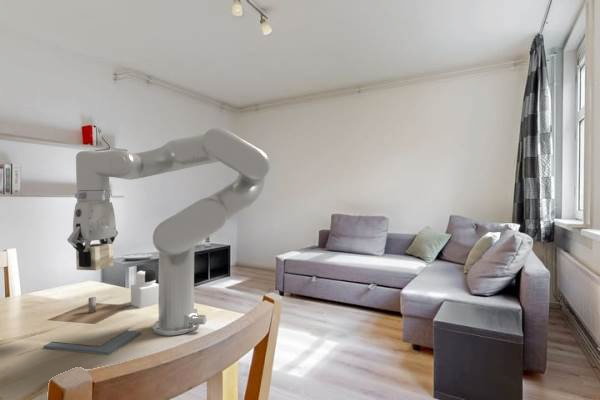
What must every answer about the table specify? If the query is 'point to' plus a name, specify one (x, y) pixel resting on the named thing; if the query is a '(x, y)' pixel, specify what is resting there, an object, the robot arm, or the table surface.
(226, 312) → the table surface
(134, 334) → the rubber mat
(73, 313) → the peg stand
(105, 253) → the ring block
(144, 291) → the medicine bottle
